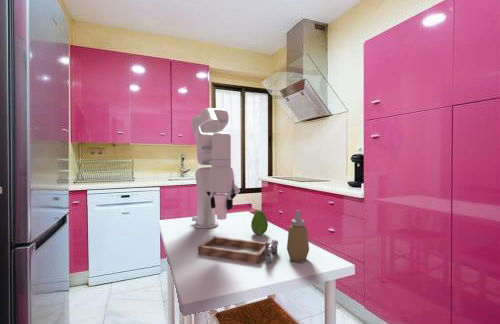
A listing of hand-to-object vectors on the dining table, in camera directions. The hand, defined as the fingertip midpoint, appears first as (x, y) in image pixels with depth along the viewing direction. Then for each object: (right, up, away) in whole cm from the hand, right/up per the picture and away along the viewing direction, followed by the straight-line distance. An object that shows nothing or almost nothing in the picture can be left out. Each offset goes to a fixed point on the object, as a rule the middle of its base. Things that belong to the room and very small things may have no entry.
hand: (221, 208), depth 101 cm
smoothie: (0, -4, 0) cm, 4 cm away
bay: (+5, -17, -2) cm, 18 cm away
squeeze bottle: (+29, -17, -8) cm, 35 cm away
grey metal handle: (+19, -17, -7) cm, 27 cm away
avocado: (+16, -17, +20) cm, 31 cm away
